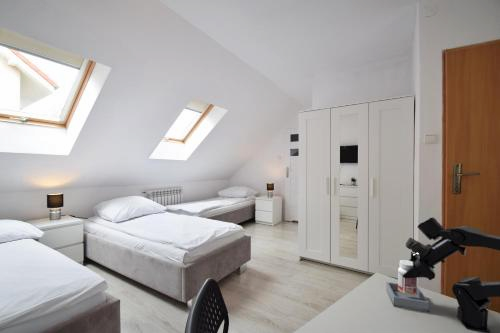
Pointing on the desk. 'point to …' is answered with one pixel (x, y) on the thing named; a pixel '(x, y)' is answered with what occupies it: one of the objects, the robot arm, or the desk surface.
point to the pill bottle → (406, 279)
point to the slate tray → (407, 298)
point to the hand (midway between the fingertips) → (403, 273)
